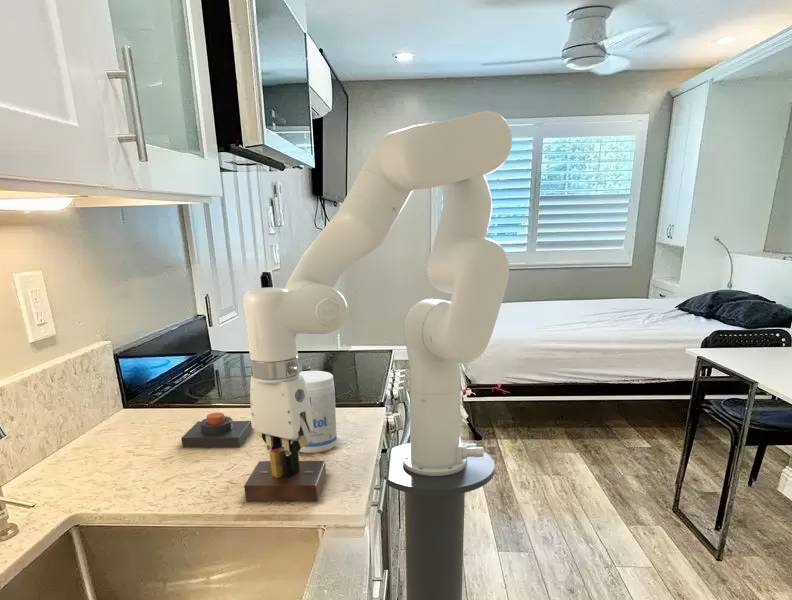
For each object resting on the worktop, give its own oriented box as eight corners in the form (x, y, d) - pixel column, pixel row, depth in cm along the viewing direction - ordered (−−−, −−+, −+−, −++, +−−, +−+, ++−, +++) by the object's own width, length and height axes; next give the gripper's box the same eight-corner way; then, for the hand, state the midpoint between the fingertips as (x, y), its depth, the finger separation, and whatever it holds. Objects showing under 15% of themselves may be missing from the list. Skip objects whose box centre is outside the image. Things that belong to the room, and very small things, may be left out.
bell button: (227, 419, 123) (226, 412, 122) (222, 425, 119) (220, 417, 119) (210, 420, 123) (209, 412, 122) (205, 425, 120) (204, 418, 119)
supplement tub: (295, 457, 111) (288, 385, 106) (286, 441, 120) (280, 373, 114) (343, 450, 114) (339, 379, 109) (331, 434, 123) (327, 367, 117)
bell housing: (252, 430, 127) (250, 413, 125) (239, 447, 117) (237, 429, 116) (199, 430, 127) (196, 413, 126) (182, 447, 118) (179, 429, 117)
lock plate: (326, 475, 103) (324, 459, 102) (317, 501, 94) (316, 484, 93) (261, 476, 104) (259, 460, 103) (246, 501, 95) (243, 484, 94)
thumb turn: (294, 466, 100) (292, 441, 98) (300, 468, 99) (297, 443, 97) (272, 476, 97) (269, 450, 95) (277, 478, 96) (274, 452, 94)
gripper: (328, 368, 90) (336, 474, 97) (256, 357, 98) (268, 455, 105) (296, 380, 84) (306, 491, 91) (223, 367, 92) (237, 470, 99)
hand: (286, 471), depth 98 cm, fingers closed, pressing on thumb turn
